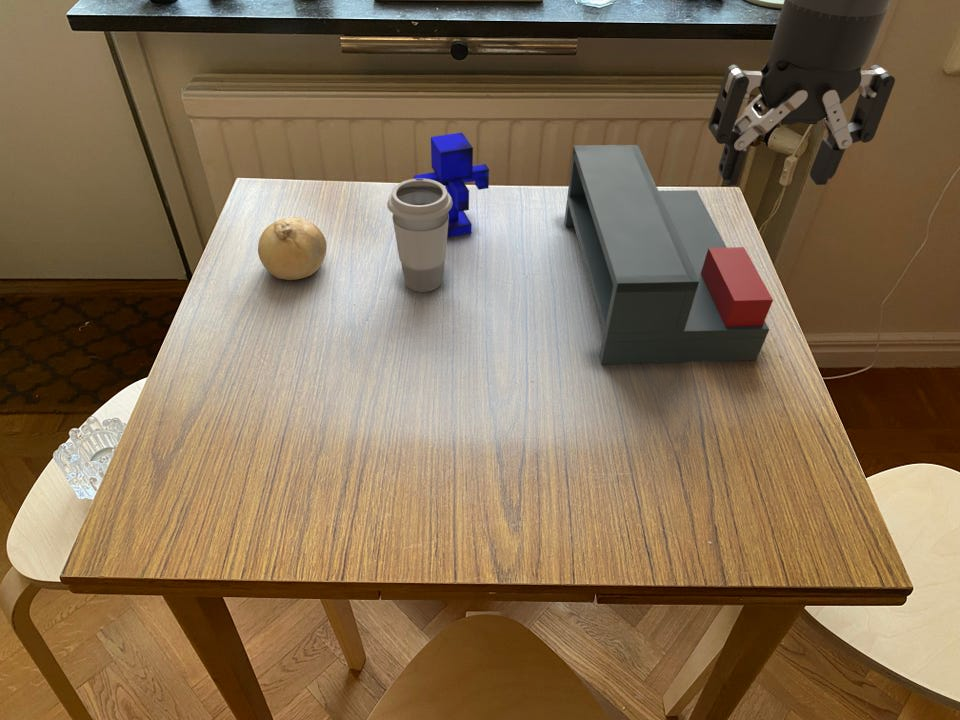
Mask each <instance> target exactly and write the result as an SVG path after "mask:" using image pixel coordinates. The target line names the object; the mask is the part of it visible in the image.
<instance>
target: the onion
mask: <svg viewBox="0 0 960 720" xmlns="http://www.w3.org/2000/svg"><path fill="white" fill-rule="evenodd" d="M327 247H328V245H327V240H326V238H325V235H324V233H323V232H322V230H321V229H320V228H319V227H318V226H317V225H316V224H315V223H313V222H312V221H311V220H308V219H304V218H303V217H302V218H301V217H286V218H280V219H278V220H276V221H274V222H273V223H271V224H269V225H268V226H266V228H264V230H263V231H262V233H261V234H260V237H259V239H258V243H257V254H258V258H259V260H260V262H261V265H262V266H263V267H264V268H265V269H266V270H267V271H268V272H269V274H270V275H272V276H273V277H275V278H277V279H280V280H289V281H293V280H301V279H304V278H307V277H309V276H312V275H314V274H315V273H317V272H318V270H319V269H320V268H321V266H322V264H323V262H324V261H325V260H324V259H325V258H326V255H327V249H328V248H327Z"/></svg>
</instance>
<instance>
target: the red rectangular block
mask: <svg viewBox="0 0 960 720" xmlns="http://www.w3.org/2000/svg"><path fill="white" fill-rule="evenodd" d="M701 275H702V277H703V279H704V281H705V283H706V286H707V288H708V290H709V292H710V294H711V296H712V299H713V301H714V303H715V305H716V307H717V310H718V312H719V314H720V316H721V318H722V320H723V323H724V325H725V327H731V326H763V324H764V321H765V322H766V319H767V317H768V314H769V311H770V309H771V307H772V304H773V301H774V299H773V297H772V296H771V293H770V291H769V290H768V287H766V285H765V282H764V281H763V279H762V277H761V275H760V273H759V272H758V269H757V268H756V266H755V264H754V263H753V261H752V259H751V257H750V254H748V251H747V250H746V248H745V247H744V246H737V247H735V246H733V247H732V246H731V247H727V248H708V251H707V255H706V258H705V261H704V264H703V268H702V271H701Z"/></svg>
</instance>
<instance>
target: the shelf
mask: <svg viewBox="0 0 960 720" xmlns="http://www.w3.org/2000/svg"><path fill="white" fill-rule="evenodd" d="M570 165H571V166H570V171H569V172H570V173H569V180H568V188H567V196H566V205H565V212H564V226H565V227H573V228H574V230H575V233H576V239H577V241H578V245H579V248H580V252H581V256H582V260H583V264H584V267H585V271H586V274H587V278H588V283H589V285H590V289H591V293H592V296H593V300H594V303H595V308H596V311H597V314H598V318H599V321H600V326H601V330H602V333H603V334H602V335H603V336H602V340H601V345H600V346H601V347H600V352H599V356H598V357H599V362H600V365H627V364H629V365H630V364H631V365H632V364H661V363H663V364H664V363H665V364H666V363H667V364H669V363H699V362H701V363H702V362H703V363H704V362H734V361H735V362H736V361H737V362H738V361H757V360H758V358H759V355H760V353H761V351H762V348H763V346H764V344H765V341H766V338H767V336H768V333H769V331H770V328H769V326H768V324H767V322H766V320H765V321H764V324H763V326H731V327H725V325H724V323H723V320H722V318H721V316H720V314H719V312H718V310H717V307H716V305H715V303H714V301H713V299H712V296H711V294H710V292H709V290H708V288H707V286H706V283H705V281H704V279H703V277H702V275H701V271H702V268H703V264H704V261H705V258H706V255H707V251H708V248H728V247H727V246H726V243H725V242H724V240H723V237H722V236H721V234H720V232H719V230H718V228H717V226H716V225H715V223H714V221H713V218H712V217H711V214H710V212H709V210H708V209H707V207H706V205H705V203H704V201H703V200H702V197H701V195H700V194H699V191H698V190H697V189H693V190H691V189H690V190H688V189H687V190H684V189H683V190H659V188H658V186H657V184H656V182H655V180H654V177H653V176H652V173H651V171H650V169H649V166H648V164H647V162H646V160H645V157H644V155H643V153H642V151H641V149H640V147H639V144H595V145H594V144H592V145H587V144H586V145H578V144H577V145H573V148H572V155H571V164H570Z"/></svg>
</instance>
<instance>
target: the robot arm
mask: <svg viewBox="0 0 960 720" xmlns="http://www.w3.org/2000/svg"><path fill="white" fill-rule="evenodd" d="M891 1H892V0H784V1H783V4H782V7H781V10H780V14H779V17H778V20H777V24H776V27H775V31H774V34H773V37H772V40H771V44H770V49H769V50H770V51H769V53H768V54H769V55H768V58H767V60H766V63H765V64H764V65H763V66H762V68H761V69H760V70H745V69H741V67H740V66H739V65H738V64H731V65H729V66H728V67H727V68H726V70H725V72H724V76H723V79H722V82H721V85H720V87H719V91H718V94H717V98H716V100H715V104H714V106H713V110H712V113H711V116H710V118H709V121H708V125H707V127H708V130H709V131H710V133H711V134H712V136H713V139H715V141H716V142H717V143H718V144H719V145H723V144H724V146H723V150H722V153H721V157H720V160H719V163H718V173H719V175H720V177H721V178H722V180H723V181H724V183H725V184H726V186H727V187H736V186H737V185H738V183H739V179H740V177H741V176H740V175H741V173H742V169H743V167H744V162H745V159H746V156H747V153H748V150H747V147H748V146H749V145H750V144H752V143H753V142H754V141H755V140H756V139H757V138H758V137H760V136H761V135H765V134H768V133H769V132H770V131H771V130H772V129H773V128H774V127H776V125H777V124H779V123H780V125H782V126H783V125H788V126H789V125H795V124H799V123H802V124H806V125H817V124H818V123H819V122H820V121H821V122H822V124H823V127H824V129H825V131H826V134H827V138H826V137H825V138H822V140H821V142H820V145H819V147H818V149H817V152H816V154H815V158H814V160H813V162H812V166H811V168H810V171H809V177H810V178H811V180H812V181H813V182H814V184H815V185H816V186H826V184H827V183H828V181H829V180H831V179H832V178H834V176H835V175H836V173H837V171H838V168H839V166H840V163H841V161H842V158H843V155H844V153H845V151H846V149H848V148H850V147H851V146H852V144H855V143H858V142H862V143H869V142H871V141H872V140H873V139H874V138H875V136H876V133H877V131H878V128H879V125H880V123H881V120H882V117H883V114H884V112H885V109H886V107H887V104H888V101H889V98H890V96H891V93H892V91H893V88H894V85H895V83H896V78H895V77H894V76H893V74H891V73H890V72H889V71H888V70H887V69H886V68H885V67H883V66H882V65H880V64H878V63H877V64H873V65H871V66H870V67H869V68H868V69H866V70H862V67H863V66H864V65H865V64H866V63H867V61H868V59H869V57H870V54H871V52H872V49H873V47H874V45H875V42H876V40H877V37H878V34H879V31H880V29H881V26H882V25H883V22H884V20H885V17H886V15H887V13H888V12H887V11H888V9H889V7H890V4H891ZM756 88H758V91H759V92H760V93H759V94H757V96H756V97H754V99H753V100H752V101H751V102H749V103H748V104H747V105H746V107H745V108H744V110H743V113H742V114H741V115H740V116H739V113H740V110H741V107H742V105H743V102H744V99H745V100H746V99H749V98H750V96H751V94H752V91H753V90H754V89H756ZM856 91H857V92H858V93H859V94H858V98H857V101H856V104H855V107H854V109H853V112H852V115H851V117H850V121H849V122H848V120H847V117H846V114H845V112H844V109H843V106H842V104H843V103H844V102H845V101H846V100H847V99H848V98H849V97H850V96H852V95H853V94H854V93H855V92H856ZM766 109H767V112H766V113H764V115H762V113H763V111H765V110H766Z"/></svg>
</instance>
